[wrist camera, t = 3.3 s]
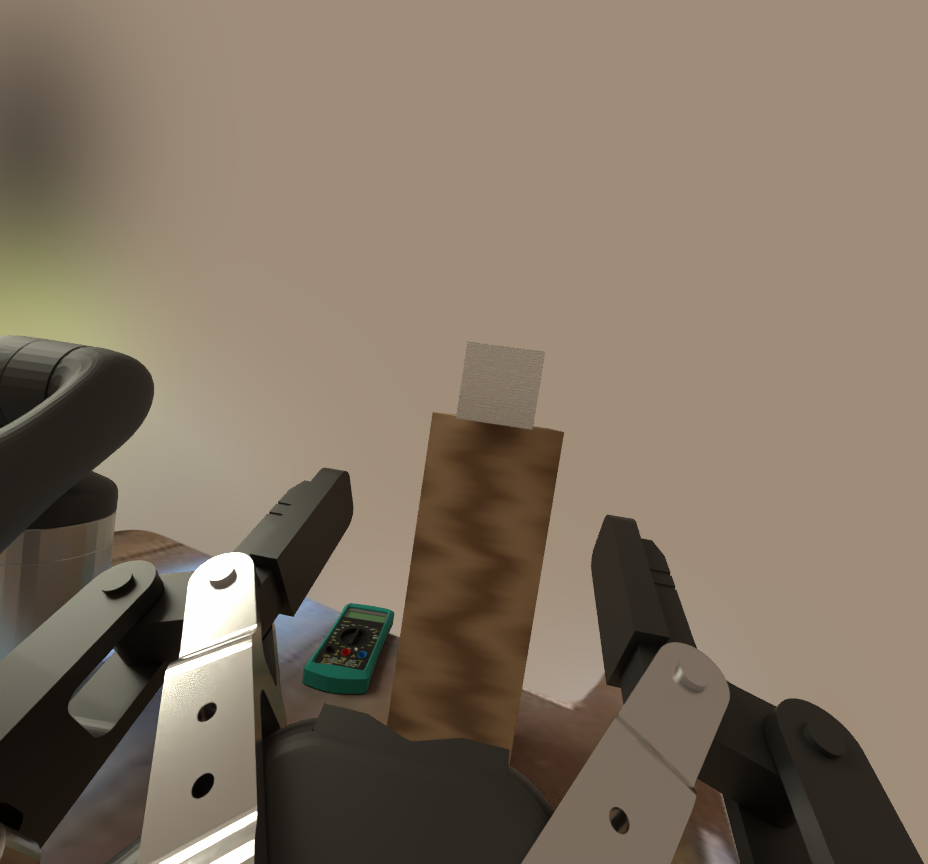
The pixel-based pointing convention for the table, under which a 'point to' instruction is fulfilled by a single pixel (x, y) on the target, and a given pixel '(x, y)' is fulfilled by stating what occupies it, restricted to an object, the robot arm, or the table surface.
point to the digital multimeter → (349, 650)
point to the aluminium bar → (500, 385)
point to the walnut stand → (473, 580)
